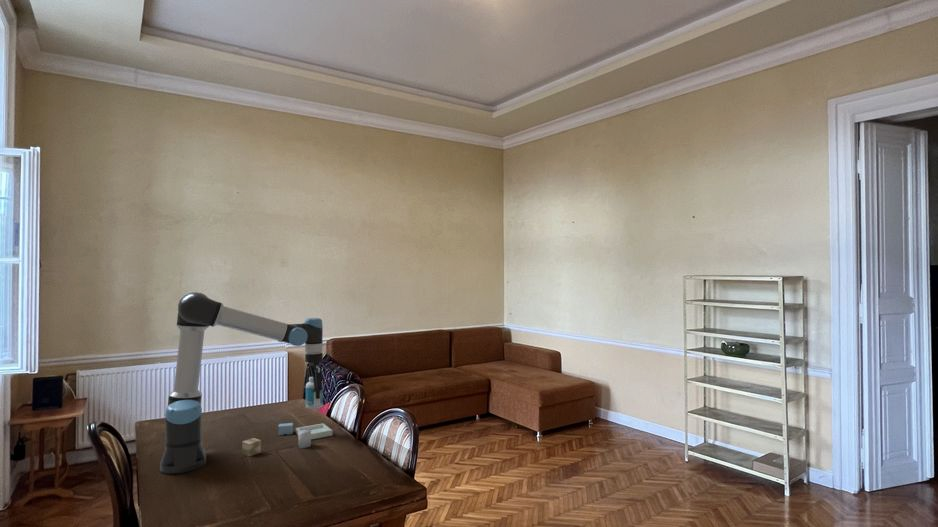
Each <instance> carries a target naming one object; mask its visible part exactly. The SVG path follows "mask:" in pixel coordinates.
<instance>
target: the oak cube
mask: <svg viewBox="0 0 938 527" xmlns="http://www.w3.org/2000/svg"><path fill="white" fill-rule="evenodd" d="M241 446H242V450H241V452H242V453H241V454H242V455H245V456H247V457H251V456H254V455H257V454H261V453H262V440H261V439H257V438H256V437H251V438H248V439H246V440H242V444H241Z"/></svg>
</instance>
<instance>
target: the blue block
mask: <svg viewBox="0 0 938 527" xmlns="http://www.w3.org/2000/svg"><path fill="white" fill-rule="evenodd" d="M277 428H278V430H277V435H278V436H284V434H287V435H293V433H294V423H293V422H287V423H278V427H277Z"/></svg>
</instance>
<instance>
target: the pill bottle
mask: <svg viewBox="0 0 938 527" xmlns="http://www.w3.org/2000/svg"><path fill="white" fill-rule="evenodd" d="M313 390H315V389H314V381H313V377H309V382H308V383H307V382H306V383H305V408H306V409H310V410H317V409H318V410H319V409H320V408H322V407H323V406H324V404H323V403H324V383H323V382H322V390H321V391H320V406H314V392H313Z"/></svg>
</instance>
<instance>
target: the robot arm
mask: <svg viewBox="0 0 938 527" xmlns="http://www.w3.org/2000/svg"><path fill="white" fill-rule="evenodd" d="M177 310H178V311H177V317H176V318H177V319H176V327H177V328H178V329H179V340H178V346H177V347H178V349H177V357H176V358H177V359H176V366H175V367H176V368H175V376H174V384H173V386H174V387H173V390H172V391H171V392H170V393H169V394H168V399H167V400H168V401H167V407H166V409H165V414H164V418H165V449H164V451H163V455H162V457H161V459H160V460H161V461H160V463H159V472H161V473H163V474H172V475H174V474H181V473H187V472H191V471H196V470H197V469H199V468H200V469H201V468H202V467H204V466H205V465H206V463H207V455H206V452H205V450H204V447H203V444H202V412H203V411H202V410H203V409H202V404H201V403H202V397H203V395H202V394H203V393H202V392H201V391H200V390H199V386H200V385H199V384H200V377H201V376H200V374H201V366H202V356H203V348H204V347H203V346H204V339H205V331H206V330H207V329H208V328H209V327H212V328H213V327H216V326H219V327H224V328H228V329H230V330H231V329H232V330H236V331H240V332H243V333H246V334H247V333H248V334H252V335H255V336H259V337H263V338H266V339H267V338H268V339H271V340H275V341H277V342H278V343H285V344H290V345H292V346H295V347H299V346H302V345H304V353H305V355H304V356H305V357H304V361H305V363H306V384H307V383H308V382H309V377H313V381H314V389H315V390H313V392H314V406H320V391H321V390H322V383H323V378H322V376H323V375H322V372H323V368H322V367H321V366H320V363H321V362H323V358H324V357H323V356H324V355H323V354H324V353H323V349H324V344H323V333H324V332H323V329H324V327H323V320H322V319H321V318H319V317H310V318H309V317H308V318H306V319H304V322H303V323H293V324H292V323H285V322H281V321H278V320H275V319H271V318H268V317H264V316H260V315H258V314H253V313H249V312H245V311H243V310H238V309H235V308H231V307H228V306H225V305H224V304H223V303H222V302H220V301H217V300H213V299H211V298H209V297H208V296H207V295H205V294H204V293H202V292H198V291H196V292H193V291H192V292H189V293H186V294H185V295H184V296H182V297H181V299H180V300H179V301H178V303H177Z"/></svg>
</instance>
